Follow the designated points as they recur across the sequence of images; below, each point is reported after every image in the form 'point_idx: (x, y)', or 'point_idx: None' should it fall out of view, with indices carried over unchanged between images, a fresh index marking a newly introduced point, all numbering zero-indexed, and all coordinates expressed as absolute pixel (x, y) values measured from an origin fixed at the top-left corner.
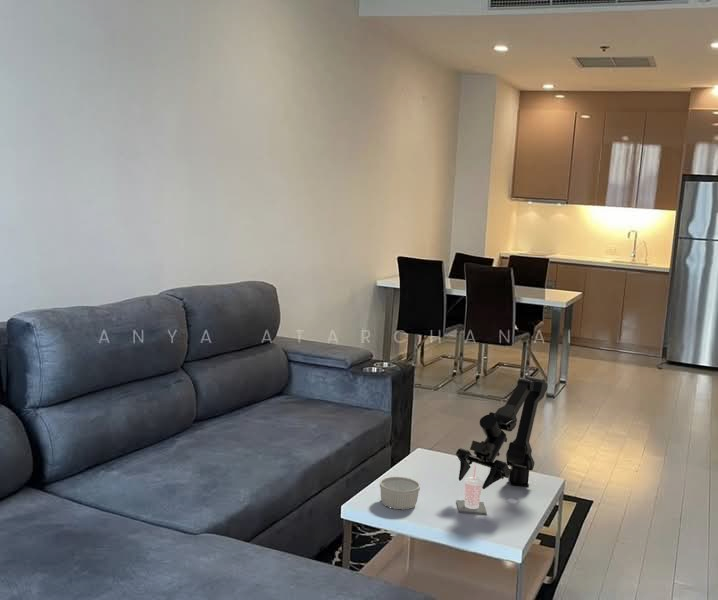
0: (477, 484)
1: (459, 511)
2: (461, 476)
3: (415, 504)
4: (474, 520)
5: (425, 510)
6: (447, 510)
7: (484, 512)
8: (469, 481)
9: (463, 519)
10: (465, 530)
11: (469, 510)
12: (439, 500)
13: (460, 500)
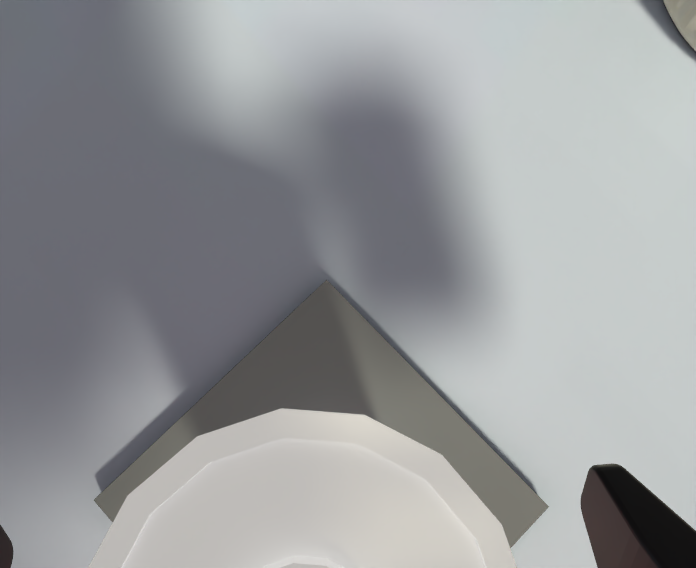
0: (123, 530)
1: (322, 287)
2: (625, 553)
3: (678, 23)
4: (106, 265)
5: (551, 54)
6: (431, 230)
7: (120, 490)
8: (320, 482)
9: (191, 193)
10: (33, 22)
11: (260, 385)
12: (666, 365)
13: (513, 538)
